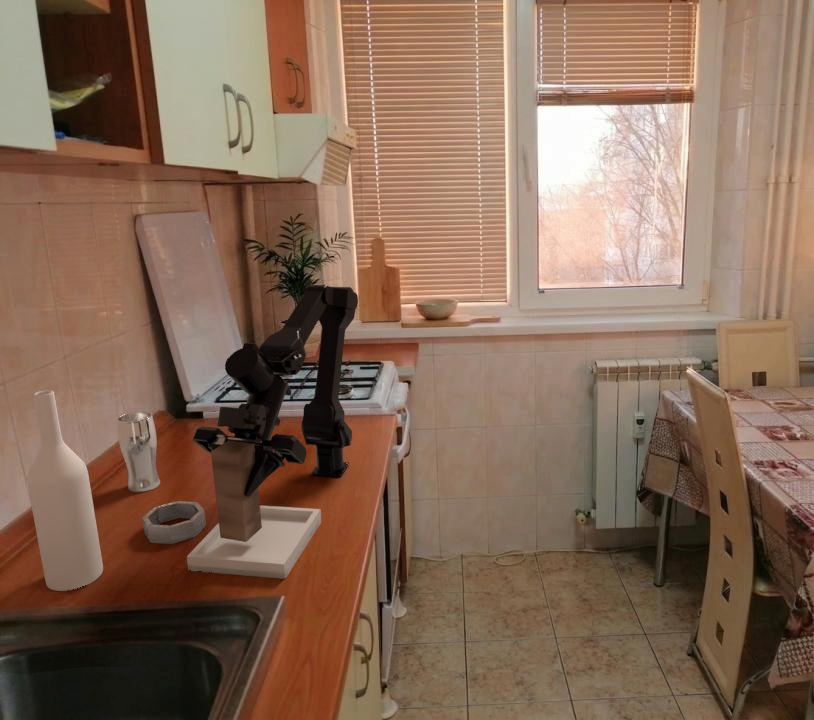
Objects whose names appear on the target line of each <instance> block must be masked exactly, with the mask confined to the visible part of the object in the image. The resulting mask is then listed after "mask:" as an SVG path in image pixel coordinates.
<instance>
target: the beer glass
mask: <svg viewBox="0 0 814 720" xmlns="http://www.w3.org/2000/svg"><path fill="white" fill-rule="evenodd" d="M116 421H117V435H118V437H117V438H118V442H119V446H120V451H121V454H122V456H123V461H125V465H126V468H127V472H128V473H127V474H128V484H127V485H128V486H127V489H128V491H130V492H133V493H144V492H149V491H152V490H154V489H156V488H158V487H159V486H160V484H161V480H160V477H159V474H158V471H157V466H156V465H157V464H156V463H157V462H156V461H157V460H156V459H157V439H158V438H157V431H156V426H155V421H154V418H153V413H152V412H151V411H145V410H139V411H138V410H137V411H132V412H126V413H124V414H121V415H119V416H118V417H117V418H116Z"/></svg>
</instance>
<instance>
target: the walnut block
mask: <svg viewBox="0 0 814 720" xmlns="http://www.w3.org/2000/svg"><path fill="white" fill-rule="evenodd" d="M210 455H211V457H210V458H211V463H212V464H211V465H212V466H211V467H212V476H213V484H214V493H215V501H216V509H217V519H218V523H219V529H220V538H225V539H231V540H237V541H243V542H247V541H248V540H249V539H250V538H251V537H252V536H253V535H254V534H255V533H257V532H258V531H259V530H260V529H261V528H262V523H261V512H260V491H259V487H258V488H257V489H256V490H255V491H254V492H253V493H252V494H251V495H250V496H249V497H247V496H245V495H244V493H245V489H246V485H247V482H248V479H249V477H250V474H251V471H252V468H253V465H254V463H255V448H254V443H245V442H236V441H227V442H225V443H224V444H222V445H221V446H219V447H218V448H216V449H214V450H213V451H211V453H210Z"/></svg>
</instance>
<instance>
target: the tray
mask: <svg viewBox="0 0 814 720" xmlns="http://www.w3.org/2000/svg"><path fill="white" fill-rule="evenodd" d="M321 510H322V509H320V508H305V507H291V506H290V507H289V506H275V505H260V512H261V523H262V528H261V529H260V530H259V531H258V532H257V533H255V534H254V535H253V536H252V537H251V538H250V539H249V540H248V541H247V542H243V541H237V540H231V539H225V538H220V529H219V522H218V523H216V525H215V526H214V527H213V528H212V529H211V530H210V531H209V532H208V534H207V535H205V537H204V538H202V540H201V541H200V542H199V543H198V544H197V545H196V546H195V547H194V548H193V549H192V551H190V552H189V553H188V555H187V556H186V561H187V569H188V571H189V570H191V571H190V572H197V571H202V572H201V573H209V572H210V574H212V573H213V574H222V575H235V576H244V577H245V576H247V577H259V578H270V579H282V580H286V578H287V577H288V575H289V574H290V573H291V570H292V569H293V567H294V566H295V564H296V563H297V561H298V560H299V558H300V557H301V555H302V553H303V552H304V551H305V548H306V547H307V546H308V544H309V543H310V541H311V539H312V538H313V536H314V535H315V533H316V532H317V530H318V528H319V527H320V525H321V523H322V511H321ZM211 572H212V573H211Z"/></svg>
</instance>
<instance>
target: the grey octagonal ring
mask: <svg viewBox="0 0 814 720" xmlns="http://www.w3.org/2000/svg"><path fill="white" fill-rule="evenodd" d="M177 519H187V520H185V521H182V522H179V523H175V524H171V525H166V524H165V525H164V524H163V523H166V522H170V521H172V520H173V521H174V520H177ZM188 519H189V520H188ZM142 525H143V533H144V535H145V536H146V538H147V539H148V542H149V543H153V544H166V545H174V544H176V543H181V542H183V541H186V540H190V539H193V538H196V536H198V535H199V533H201V532H202V530H203V529H204V528H205V527H206V526H207V522H206V513H205V509H204V508H203V507H202V506H201V505H200V503H199V502H198V501H186V500H185V501H182V500H176V501H172V502H168V503H164V504H162V505H157V506H155V507H154V508H152V509H151V510H149V511H148V512H147V513H146V514H145V515H144V516H142Z"/></svg>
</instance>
